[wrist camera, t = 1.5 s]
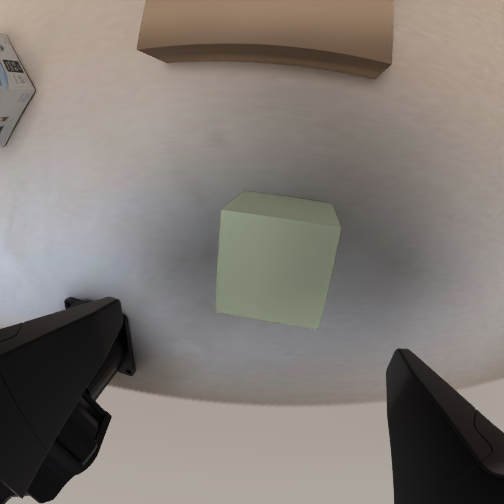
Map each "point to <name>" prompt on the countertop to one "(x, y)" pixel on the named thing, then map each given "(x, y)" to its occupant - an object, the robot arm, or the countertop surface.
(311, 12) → the walnut slab
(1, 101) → the light bulb box
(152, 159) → the countertop surface
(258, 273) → the green cube
